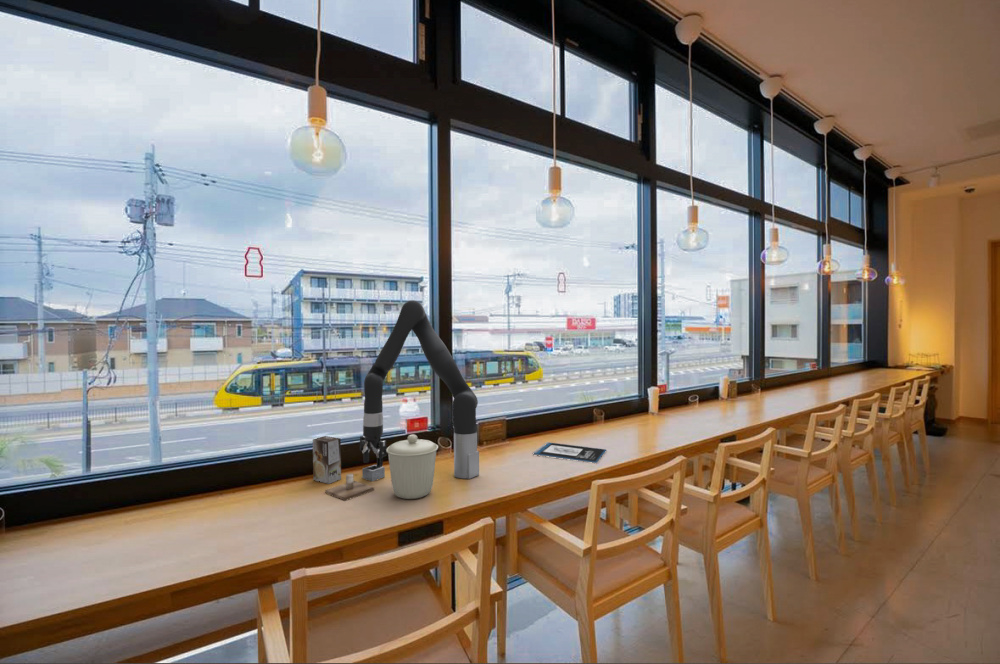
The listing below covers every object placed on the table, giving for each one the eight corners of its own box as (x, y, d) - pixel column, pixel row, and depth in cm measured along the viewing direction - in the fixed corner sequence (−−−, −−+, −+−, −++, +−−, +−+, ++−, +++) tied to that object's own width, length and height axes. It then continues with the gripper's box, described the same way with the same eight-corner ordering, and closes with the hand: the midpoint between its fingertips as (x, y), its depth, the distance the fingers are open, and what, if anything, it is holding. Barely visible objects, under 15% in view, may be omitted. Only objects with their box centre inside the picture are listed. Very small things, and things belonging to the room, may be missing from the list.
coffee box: (342, 479, 170) (341, 438, 169) (328, 484, 164) (328, 441, 164) (325, 475, 174) (325, 435, 174) (312, 480, 168) (311, 439, 168)
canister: (427, 506, 143) (427, 442, 143) (377, 501, 147) (376, 439, 147) (445, 486, 161) (445, 429, 161) (399, 483, 165) (399, 427, 164)
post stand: (374, 490, 158) (374, 473, 158) (344, 500, 148) (344, 483, 148) (354, 483, 165) (354, 467, 165) (325, 492, 155) (325, 476, 155)
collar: (384, 477, 171) (384, 467, 171) (372, 481, 166) (371, 471, 166) (375, 474, 175) (375, 464, 175) (362, 478, 170) (362, 468, 170)
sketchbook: (596, 465, 187) (596, 460, 187) (531, 456, 200) (531, 452, 200) (606, 451, 207) (606, 447, 207) (546, 445, 220) (546, 440, 220)
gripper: (392, 424, 169) (392, 466, 170) (370, 419, 178) (369, 459, 178) (376, 428, 163) (376, 471, 164) (354, 422, 172) (353, 463, 172)
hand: (372, 464), depth 171 cm, fingers open, 8 cm apart
